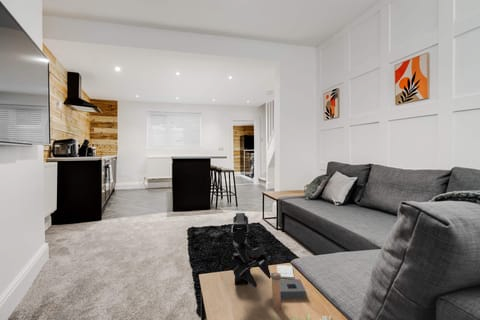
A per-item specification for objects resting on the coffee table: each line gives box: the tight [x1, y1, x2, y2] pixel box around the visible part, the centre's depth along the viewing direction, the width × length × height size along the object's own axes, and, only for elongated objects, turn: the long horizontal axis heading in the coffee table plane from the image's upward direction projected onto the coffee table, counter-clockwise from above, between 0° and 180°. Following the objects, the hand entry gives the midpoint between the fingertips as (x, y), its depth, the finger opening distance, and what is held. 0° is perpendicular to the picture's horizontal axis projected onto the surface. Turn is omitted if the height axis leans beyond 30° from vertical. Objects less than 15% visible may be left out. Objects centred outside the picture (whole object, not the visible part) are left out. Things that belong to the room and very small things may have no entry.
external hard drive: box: [276, 264, 295, 280], centre depth 124 cm, size 2×8×12 cm
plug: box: [270, 271, 282, 311], centre depth 95 cm, size 4×4×13 cm
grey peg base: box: [280, 278, 307, 300], centre depth 106 cm, size 12×10×3 cm
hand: (263, 282), depth 100 cm, fingers open, 9 cm apart
